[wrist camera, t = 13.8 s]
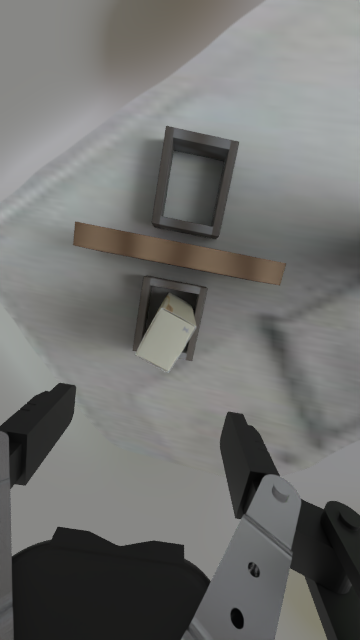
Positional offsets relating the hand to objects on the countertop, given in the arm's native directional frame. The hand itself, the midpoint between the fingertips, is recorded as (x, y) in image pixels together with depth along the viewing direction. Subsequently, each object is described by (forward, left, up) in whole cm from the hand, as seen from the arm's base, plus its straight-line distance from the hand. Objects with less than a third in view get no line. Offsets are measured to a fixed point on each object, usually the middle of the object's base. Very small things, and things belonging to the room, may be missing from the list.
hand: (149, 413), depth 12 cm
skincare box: (0, 0, -24) cm, 24 cm away
